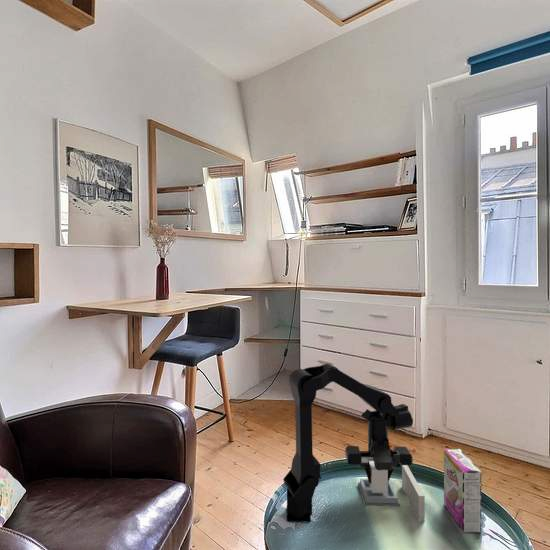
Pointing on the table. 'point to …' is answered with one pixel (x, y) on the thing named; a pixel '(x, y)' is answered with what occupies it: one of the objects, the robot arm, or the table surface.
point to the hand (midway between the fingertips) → (378, 483)
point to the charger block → (378, 479)
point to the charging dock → (378, 495)
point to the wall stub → (413, 493)
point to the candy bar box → (462, 490)
